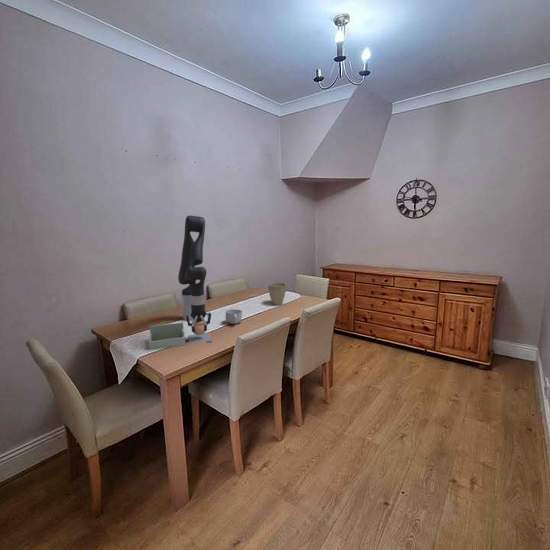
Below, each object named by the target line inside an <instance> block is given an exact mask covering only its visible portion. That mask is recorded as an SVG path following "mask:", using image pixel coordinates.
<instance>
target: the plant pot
mask: <svg viewBox="0 0 550 550" xmlns="http://www.w3.org/2000/svg"><path fill="white" fill-rule="evenodd" d="M267 289H268V293H269V297H270V300H271V303H272V305H274V306H281V305H282V304H283V303H284V300H285V295H286V293H287V292H286V290H287V283H286V282H285V283H284V282H270V283H268V284H267Z"/></svg>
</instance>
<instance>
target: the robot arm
mask: <svg viewBox="0 0 550 550" xmlns="http://www.w3.org/2000/svg"><path fill="white" fill-rule="evenodd" d="M191 232H192V233H198V236H197V238H196V240H194V239H193V237H192V235H191ZM205 232H206V219H205V218H204V217H203V216H197V215H187V216H186V217H185V222H184V234H183V236H184V237H183V244H182V245H183V246H182V250H181V251H182V252H181V261H180V266H179V271H178V275H177V276H178V277H177V278H178V280H177V281H178V283H179V284H180V285H188V286H187V287H185V288H183V289H182V290H181V300H182V301H181V303H182V316H183V317H182V319H183V320H184V321H186V322H187V326H188V327H191V332H192V333H193V334H194V333H195V330H194V323H195V322H196V321H204V322H205V323H204V329H205V333H207V332H206V331H207V330H208V325H209V324H211V319H212V313H211V312H206V299H205V291H204V290H205V281H206V278H207V270H206V268H205V267H204V266H200V265H202V264H203V262H204V257H203V256H204V254H203V253H204V252H203V251H204V249H203V248H204V241H205ZM197 281H199V282H197ZM205 317H207V321H206V319H205ZM190 321H192V322H190Z"/></svg>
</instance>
